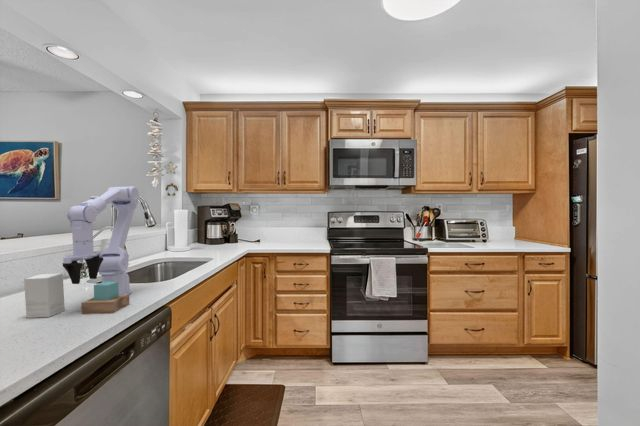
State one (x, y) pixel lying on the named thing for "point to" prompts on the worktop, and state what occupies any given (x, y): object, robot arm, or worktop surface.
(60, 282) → the supplement box
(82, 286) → the worktop surface
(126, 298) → the walnut block
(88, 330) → the worktop surface
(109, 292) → the teal cube
